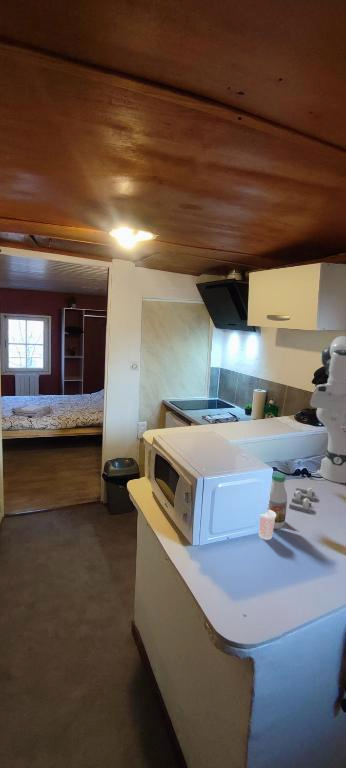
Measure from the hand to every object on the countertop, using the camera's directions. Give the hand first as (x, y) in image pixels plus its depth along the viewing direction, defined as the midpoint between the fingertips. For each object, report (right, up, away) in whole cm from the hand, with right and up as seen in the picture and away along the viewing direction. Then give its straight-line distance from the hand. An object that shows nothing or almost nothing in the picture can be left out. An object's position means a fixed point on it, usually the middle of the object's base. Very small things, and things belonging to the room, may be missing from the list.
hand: (333, 420), depth 155 cm
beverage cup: (-35, -40, -24) cm, 58 cm away
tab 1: (-14, -35, +3) cm, 38 cm away
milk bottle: (-30, -39, -15) cm, 51 cm away
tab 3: (-8, -35, +7) cm, 37 cm away
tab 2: (-14, -36, -4) cm, 39 cm away
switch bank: (-13, -37, +3) cm, 39 cm away
